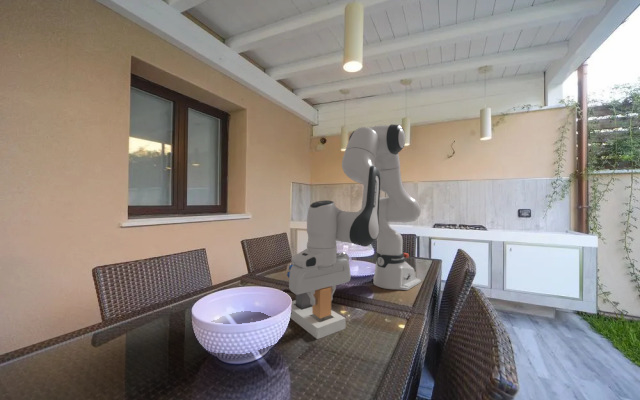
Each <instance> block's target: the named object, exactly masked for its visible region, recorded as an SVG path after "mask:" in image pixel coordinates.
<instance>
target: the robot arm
mask: <svg viewBox="0 0 640 400" xmlns="http://www.w3.org/2000/svg"><path fill="white" fill-rule="evenodd" d="M405 144H406V132H405V130H404V128H403V127H402V126H401V125H400V124H390V125H389V124H388V125H386V124H385V125H384V124H383V125H381V124H380V125H374V126H369V127H366V126H361V127H358V128H357V129H355V130H354V131H352V132H351V134H350V135H349V138H348V143H347V145H346V147H345V151H344V153H343V157H342V161H341V169H342V171H343V173H344V174H345V176H346V177H348V178H349V179H350V180H352V181H353V182H356V183H358V184H361V185H362V186H363V190H362V192H363V193H362V199H361V200H362V201H361V207H360V210H358V211H345V210H342V209H339V208H338V207H337V206H336V205H335V204H336V203H335V202H334V201H332V200H318V201H315V202H312V203H311V204H309V207H308V210H307V218H306V234H307V242H306V248H305V249H304V250H302V251H301V252H298V253H296V254H295V255H293V256H292V257H291V264H292V265H293V266H292V267H291V269H290V270H289V271H290V275H289V278H288V289H289V290H290V292H292V293H293V294H294V295H295V296H296V295H298V294H302V293H307V294H308V296H309V297H310V303H311V305H313V306H314V305H317V304H318V299H317V298H315V297H314V295H313V294H315V290H319V289H323V288H327V287H331V301H333V299H334V298H333V296H334V294H335V291H336V289H337V286H338V285H343V284H347V283H349V282H350V280H351V267H350V260H349V259H350V257H349V255H348V254H347V253H346V252H337V251H338V249H337V247H338V246H337V241H338V242H341V243H348V244H354V245H357V246H361V247H369V246H370V245H372V244H373V243H374V242H375V241H376V253H375V261H376V262H375V266H374V267H375V268H374V276H373V277H372V279H373V283H372V284H373V285H374V286H376V287H379V288H382V289H385V290H386V289H387V290H399V291H400V290H401V291H409V290H410V289H411V288H413V287H415V286H417V285H419V284H420V283H421V279H420V278H418V277H416V271H415V268H414V267H413V266H412V265H410V264H409V263H408V262H407V261H406V259H409V256H410V255H409V253H406V252H403V245H404V244H403V242H404V241H403V236H402V234H401V233H400V232H399V231H397V230H395V229H394V228H392V227H391V225H390V223H402V224H403V223H411V222H416V221H417V220H418V219H419V217H420V215H421V205H420V204H419V201H418V200H417V199H415V198H414V197H412V196H411V195H410V194H409V193H408V192H407V191H406V189H405V187H404V185H403V182H402V174H401V173H402V172H401V163H400V162H401V160H400V154H399V153H400V152H401V151H402V150H403V149H404V147H405ZM381 192H383V193H385V194H386V195H387V197H385V196H384V197H381Z"/></svg>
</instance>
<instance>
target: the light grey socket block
mask: <svg viewBox="0 0 640 400" xmlns="http://www.w3.org/2000/svg"><path fill="white" fill-rule="evenodd" d="M291 301H292V314H291V318H290V319H291V320H292V321H293V322H295V323H296V324H297V325H298V326H300V327H301V328H302V329H304V330H305V331H306V332H307V333H309V334H310V335H311V336H312V337H314V338H315V339H316V340H320V339H322V338H324V337H327V336H331V335H332V334H335V333H339V332H340V331H343V330H346V328H347V327H346V321H347V319H346V318H347V317H344V316H342V315H341V314H339V313H338V312H336V311H334V310H332V309H331V315H329V316H326V317H323V318H319V317H317V316H316V315H314V314H313V313H312V307H309V308H306V309H302V310H301V309H299V308H298V307H297V306H296V299H294V300H291Z"/></svg>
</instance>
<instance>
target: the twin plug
mask: <svg viewBox="0 0 640 400" xmlns="http://www.w3.org/2000/svg"><path fill="white" fill-rule="evenodd" d="M295 300H296V306H297V307H298V308H299V309H301V310H302V309H306V308H309V307H312V305H311V303H310V297H309V296H308V294H307V293H302V294H298V295H296V294H295Z"/></svg>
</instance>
